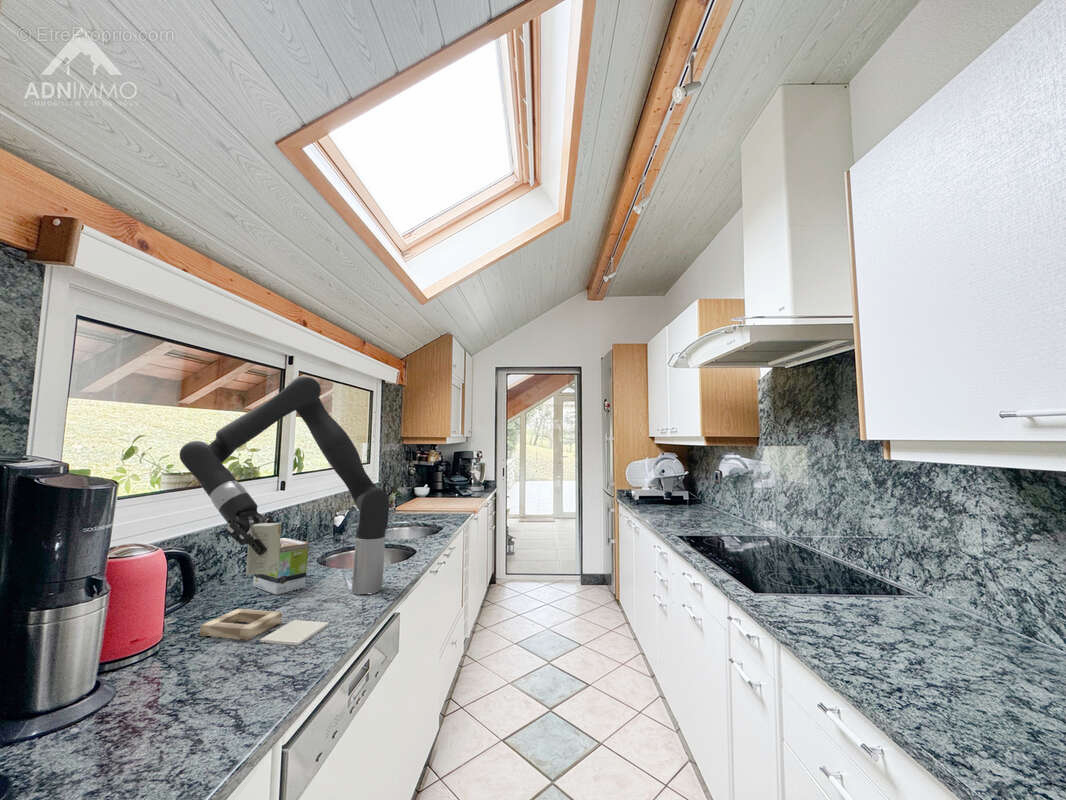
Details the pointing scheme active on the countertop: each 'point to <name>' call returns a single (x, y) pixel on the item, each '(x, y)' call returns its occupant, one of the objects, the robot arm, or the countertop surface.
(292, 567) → the tea box
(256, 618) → the frame
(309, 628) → the pad
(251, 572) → the skincare box
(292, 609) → the countertop surface
